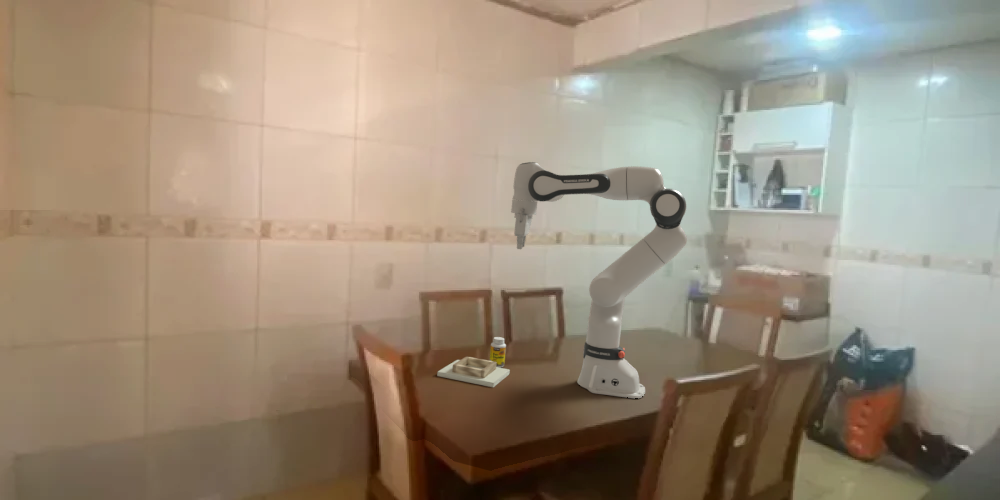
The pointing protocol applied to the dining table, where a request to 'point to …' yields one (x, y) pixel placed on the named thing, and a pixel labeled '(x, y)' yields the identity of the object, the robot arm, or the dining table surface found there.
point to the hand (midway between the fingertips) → (520, 248)
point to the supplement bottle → (498, 351)
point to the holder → (475, 371)
